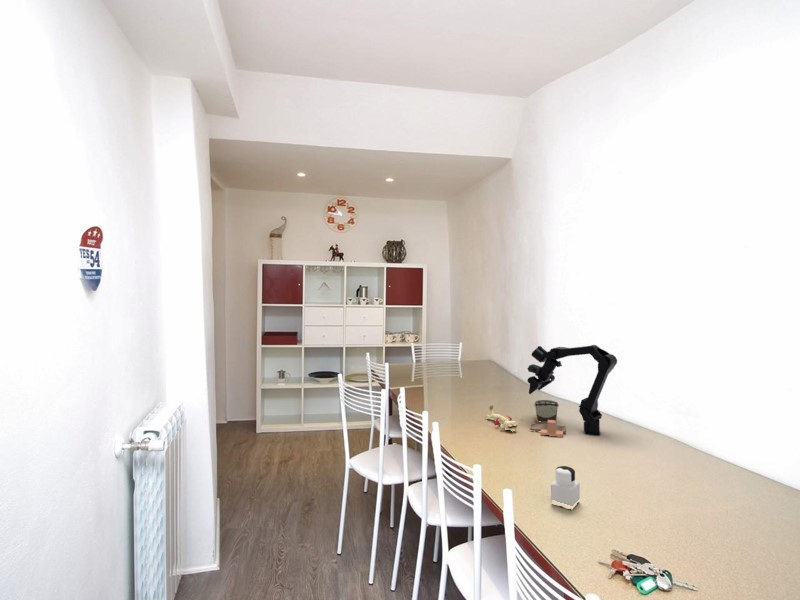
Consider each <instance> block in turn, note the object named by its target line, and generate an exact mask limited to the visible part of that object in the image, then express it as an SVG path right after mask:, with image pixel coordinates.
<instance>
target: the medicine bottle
mask: <svg viewBox="0 0 800 600" xmlns="http://www.w3.org/2000/svg"><path fill="white" fill-rule="evenodd" d="M580 490H581V489H580V481H578V480H576V471H575V469H574V468H572V467H570V466H567V465H560V466H557V467H556V468H555V479H554V480H553V482H551V484H550V501H551V500H555V501H557V502H560V503H564V504H567V505H570V506H573V505H574V504H575V503H576V502H577V501H578V500H579V499H581V497H580V493H581V491H580Z"/></svg>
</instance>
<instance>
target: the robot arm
mask: <svg viewBox="0 0 800 600" xmlns="http://www.w3.org/2000/svg"><path fill="white" fill-rule="evenodd" d="M530 355H531V357H533V358H534V359H535V360H537V362H538V363H543V364H542V366H540V365H537V364H534V363H533V364H529V365H528V367H527V371H528V373H533V374H534V376H533V375H531V376H530V377H528V378H527V383H528V384H529V389H528V394H529V395H531V394H533V393H534V392H535V391H541V390H542V389H544V388H545V387H547V386H548V385H549V384H551V383H552V382H554V381H555V379H556V377H555V375H554V373H555V372H554V371H555V369H556V368H560V367H562V366H563V364H562V363H561V360H560V359H564V358H567V357H572V356H580V355H581V356H583V355H591V357H592V358H593V359H594V361H596V362H597V373H596V376H595V378H594V381H593V383H592V386H591V388H590V391H589V393H588V396H587V397H586V398H582V399H581V401H580V405H579V406H578V408H579V409H578V411H579V413H580V415H581V418H582V421H583V432H584V434H585V435H594V436H596V435H597V436H601V429H600V426H601V425H600V420H601V419H602V417H603V414H602V413H601V412H600V411H599V410H598V408H599V401H598V400H599V398H600V395H601V393H602V392H603V389H604V386H605V384H606V381H607V379H608V376H609V374H611V372H612V371H613V370H614V368H615V367H616V365H617V364H618V359H617V357H616V356H615V355H614V354H612V353H609V352H608V351H606V350H604V349H602V348H601V347H599V346H598V345H596V344H591V345H585V346H575V347H565V346H558V347H553V348H551V349H550V350H549V351H547V350H546V349H544V348H543V346H541V345H538V346H537V347H536V348H535V349H534V350H533V351H532V352H531V354H530Z"/></svg>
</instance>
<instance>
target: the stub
mask: <svg viewBox="0 0 800 600" xmlns="http://www.w3.org/2000/svg"><path fill="white" fill-rule="evenodd" d="M547 425H548V430H543V429H541V432H539V433H540V434H541V435H549V436H548V437H551V436H557V437H556V438H564V434H563V431H556V425H557V419H556V420H548V422H547Z"/></svg>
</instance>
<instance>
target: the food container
mask: <svg viewBox="0 0 800 600" xmlns="http://www.w3.org/2000/svg"><path fill="white" fill-rule="evenodd" d="M533 407H534V408H535V414H536V422H537V421H541V422H540V423H548V420H556V421H557V415H558V409H559V407H560V405H559V403H558V402H557V401H556V400H555V401H554V400H552V399H551V400H550V399H540V400H536V401H534V404H533Z"/></svg>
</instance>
